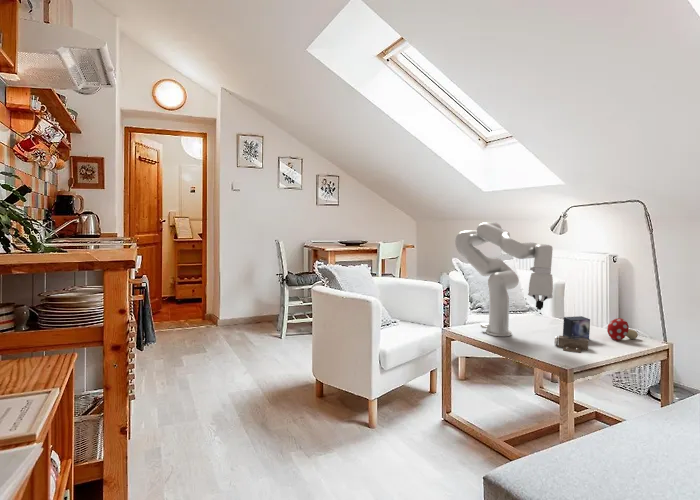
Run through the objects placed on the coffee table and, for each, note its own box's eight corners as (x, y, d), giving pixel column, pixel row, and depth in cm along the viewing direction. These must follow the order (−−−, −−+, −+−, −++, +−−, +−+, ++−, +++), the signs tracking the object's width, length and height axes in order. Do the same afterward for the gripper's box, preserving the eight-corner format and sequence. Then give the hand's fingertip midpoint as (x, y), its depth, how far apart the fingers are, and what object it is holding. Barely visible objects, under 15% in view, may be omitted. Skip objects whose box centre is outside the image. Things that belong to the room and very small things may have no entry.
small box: (570, 341, 218) (571, 319, 217) (562, 337, 224) (562, 316, 223) (590, 340, 220) (590, 318, 219) (580, 336, 226) (581, 315, 226)
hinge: (556, 349, 204) (557, 340, 204) (560, 341, 217) (560, 332, 217) (586, 353, 198) (587, 343, 198) (588, 345, 211) (589, 336, 210)
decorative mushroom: (639, 320, 224) (614, 311, 221) (650, 337, 215) (624, 327, 212) (622, 334, 230) (598, 325, 227) (632, 351, 221) (607, 342, 218)
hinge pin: (554, 345, 210) (554, 337, 209) (555, 343, 213) (555, 335, 213) (587, 350, 203) (587, 341, 202) (587, 347, 206) (588, 339, 206)
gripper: (523, 270, 213) (521, 308, 215) (558, 273, 205) (555, 313, 207) (526, 268, 219) (523, 305, 221) (560, 271, 212) (557, 310, 214)
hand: (539, 309), depth 214 cm, fingers closed
